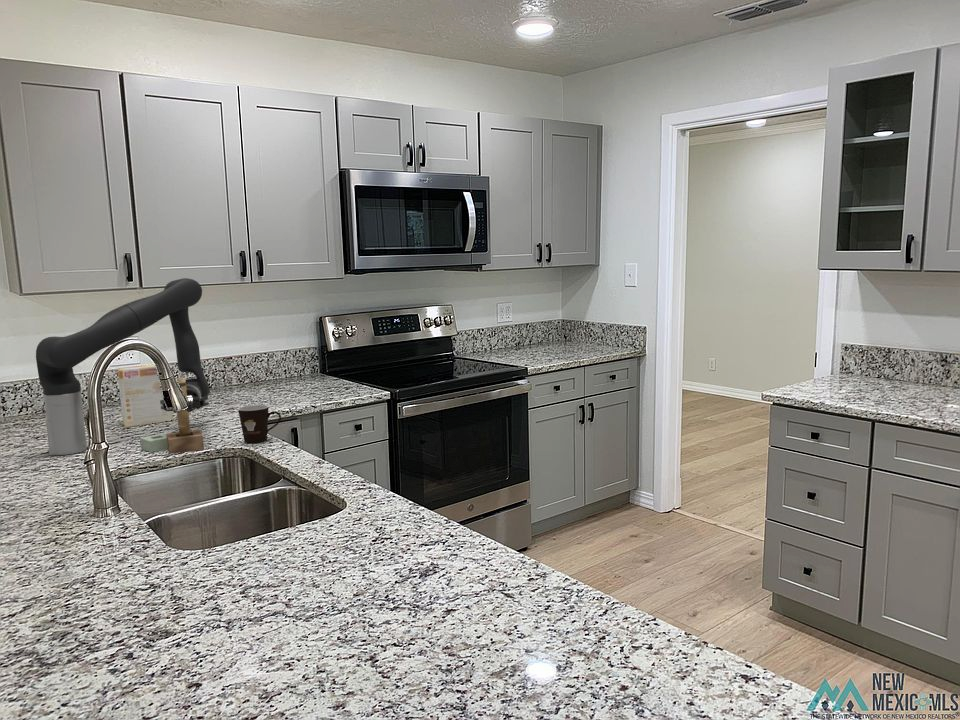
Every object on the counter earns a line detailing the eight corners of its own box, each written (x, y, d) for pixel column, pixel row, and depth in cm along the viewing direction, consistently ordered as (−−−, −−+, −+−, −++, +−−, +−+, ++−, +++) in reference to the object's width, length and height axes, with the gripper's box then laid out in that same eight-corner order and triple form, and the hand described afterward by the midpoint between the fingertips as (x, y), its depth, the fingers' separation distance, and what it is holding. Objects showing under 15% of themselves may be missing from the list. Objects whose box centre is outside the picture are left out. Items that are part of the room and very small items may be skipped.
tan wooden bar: (180, 442, 203) (174, 380, 201) (179, 440, 206) (173, 378, 204) (191, 440, 205) (186, 379, 202) (190, 438, 208) (185, 377, 205)
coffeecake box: (169, 418, 251) (164, 363, 249) (173, 421, 245) (168, 365, 243) (122, 424, 244) (116, 367, 241) (125, 427, 238) (119, 369, 235)
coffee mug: (234, 443, 210) (231, 409, 209) (255, 436, 217) (253, 404, 216) (263, 446, 204) (261, 412, 203) (284, 439, 212) (282, 406, 211)
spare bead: (150, 452, 202) (149, 441, 202) (140, 448, 207) (139, 438, 206) (175, 447, 207) (174, 436, 207) (164, 443, 212) (164, 433, 211)
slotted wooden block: (169, 453, 200) (168, 439, 199) (167, 447, 208) (166, 433, 207) (204, 449, 204) (202, 435, 203) (200, 442, 212) (199, 429, 211)
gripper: (161, 387, 215) (152, 397, 199) (210, 384, 219) (206, 393, 203) (163, 412, 216) (155, 423, 200) (212, 408, 220) (209, 419, 204)
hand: (181, 408), depth 201 cm, fingers closed on tan wooden bar, 3 cm apart
